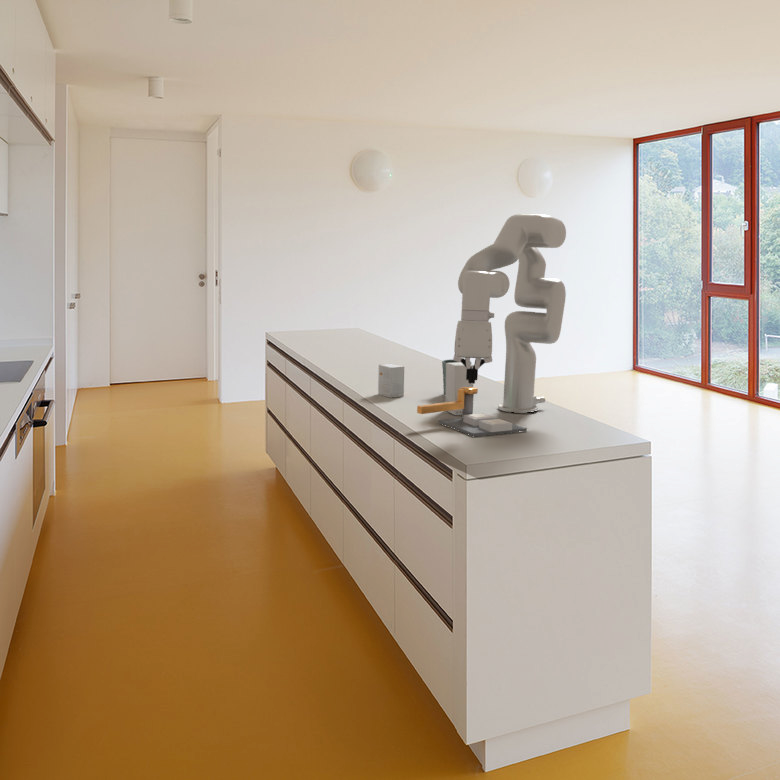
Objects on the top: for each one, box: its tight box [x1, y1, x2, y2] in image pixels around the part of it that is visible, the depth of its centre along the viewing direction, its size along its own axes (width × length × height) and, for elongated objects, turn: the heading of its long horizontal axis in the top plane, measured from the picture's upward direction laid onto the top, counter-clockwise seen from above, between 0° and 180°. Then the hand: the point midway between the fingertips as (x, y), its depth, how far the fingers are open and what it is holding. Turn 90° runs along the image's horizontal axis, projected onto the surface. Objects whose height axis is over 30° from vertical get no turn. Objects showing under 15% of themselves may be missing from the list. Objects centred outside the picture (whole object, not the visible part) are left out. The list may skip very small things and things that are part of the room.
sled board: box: [438, 394, 527, 438], centre depth 222 cm, size 18×18×8 cm
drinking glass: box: [441, 358, 472, 396], centre depth 271 cm, size 10×10×12 cm
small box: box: [377, 363, 405, 399], centre depth 267 cm, size 8×6×10 cm
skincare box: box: [445, 362, 474, 416], centre depth 241 cm, size 8×7×16 cm
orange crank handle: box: [416, 386, 478, 415], centre depth 223 cm, size 21×5×6 cm, turn 127°
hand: (471, 382), depth 215 cm, fingers closed
